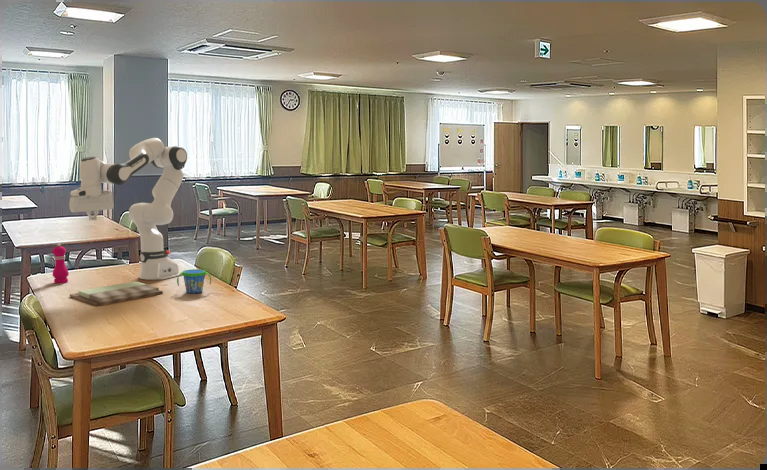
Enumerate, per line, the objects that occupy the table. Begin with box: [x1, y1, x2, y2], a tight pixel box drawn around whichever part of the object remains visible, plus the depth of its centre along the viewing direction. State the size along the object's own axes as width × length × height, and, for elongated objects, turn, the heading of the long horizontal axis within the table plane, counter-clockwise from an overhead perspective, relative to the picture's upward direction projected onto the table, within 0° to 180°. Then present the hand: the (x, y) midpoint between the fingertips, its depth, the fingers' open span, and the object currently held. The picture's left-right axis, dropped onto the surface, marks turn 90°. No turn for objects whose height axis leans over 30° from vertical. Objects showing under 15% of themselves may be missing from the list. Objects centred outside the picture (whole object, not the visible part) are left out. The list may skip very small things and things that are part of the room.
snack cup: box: [176, 268, 212, 294], centre depth 310 cm, size 16×10×10 cm
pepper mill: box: [52, 242, 69, 284], centre depth 328 cm, size 7×7×20 cm
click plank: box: [77, 280, 148, 298], centre depth 305 cm, size 28×10×2 cm, turn 140°
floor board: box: [69, 284, 164, 307], centre depth 303 cm, size 32×25×3 cm
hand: (93, 220), depth 313 cm, fingers closed
